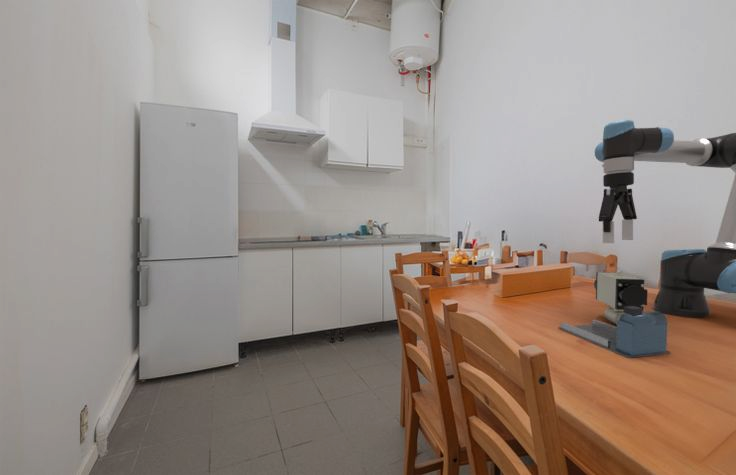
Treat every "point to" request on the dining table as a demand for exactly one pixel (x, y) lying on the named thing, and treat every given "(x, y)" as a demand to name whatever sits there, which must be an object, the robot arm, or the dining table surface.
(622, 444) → the dining table surface
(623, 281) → the ball valve
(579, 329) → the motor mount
